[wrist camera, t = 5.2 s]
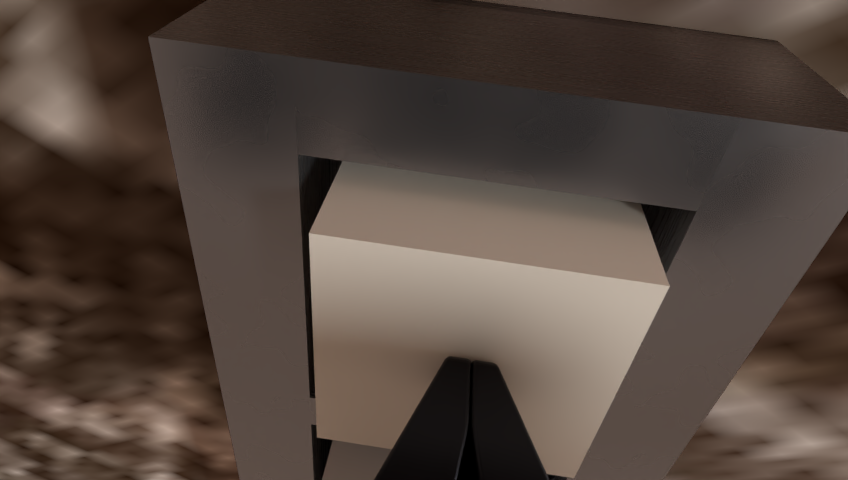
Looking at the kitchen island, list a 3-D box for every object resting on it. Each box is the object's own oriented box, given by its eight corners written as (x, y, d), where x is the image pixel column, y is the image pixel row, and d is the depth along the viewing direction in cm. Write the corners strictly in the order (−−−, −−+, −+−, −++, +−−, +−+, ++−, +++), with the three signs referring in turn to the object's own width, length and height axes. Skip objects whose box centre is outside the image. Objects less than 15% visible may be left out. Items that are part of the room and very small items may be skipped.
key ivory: (618, 140, 11) (670, 285, 8) (556, 318, 14) (574, 478, 11) (368, 105, 11) (308, 233, 8) (361, 288, 14) (317, 437, 11)
